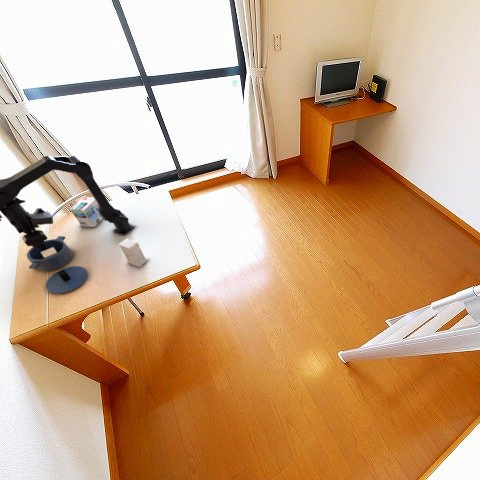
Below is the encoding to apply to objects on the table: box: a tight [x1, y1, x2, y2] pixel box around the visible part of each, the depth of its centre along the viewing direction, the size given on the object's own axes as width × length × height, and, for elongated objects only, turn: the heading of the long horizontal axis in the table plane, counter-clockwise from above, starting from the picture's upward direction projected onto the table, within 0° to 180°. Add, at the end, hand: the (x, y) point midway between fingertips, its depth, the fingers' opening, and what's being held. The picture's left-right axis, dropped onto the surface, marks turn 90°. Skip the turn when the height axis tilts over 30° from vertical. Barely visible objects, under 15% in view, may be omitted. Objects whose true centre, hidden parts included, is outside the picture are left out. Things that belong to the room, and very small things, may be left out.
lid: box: [45, 265, 89, 295], centre depth 113 cm, size 14×14×6 cm
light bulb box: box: [69, 196, 104, 228], centre depth 137 cm, size 11×7×11 cm, turn 179°
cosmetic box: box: [118, 238, 147, 268], centre depth 121 cm, size 6×4×12 cm
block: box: [41, 247, 58, 259], centre depth 120 cm, size 4×4×4 cm
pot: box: [26, 235, 74, 272], centre depth 119 cm, size 13×18×6 cm
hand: (41, 244), depth 115 cm, fingers open, 9 cm apart
